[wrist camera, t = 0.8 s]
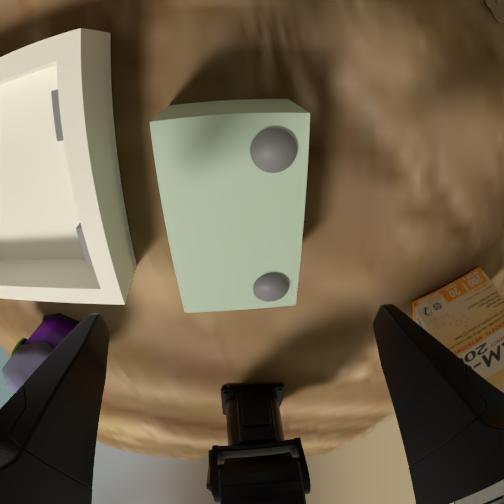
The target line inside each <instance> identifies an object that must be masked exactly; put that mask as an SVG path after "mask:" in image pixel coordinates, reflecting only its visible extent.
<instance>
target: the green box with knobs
mask: <svg viewBox="0 0 504 504" xmlns="http://www.w3.org/2000/svg"><path fill="white" fill-rule="evenodd" d="M150 130H151V137H152V145H153V152H154V159H155V166H156V172H157V179H158V185H159V191H160V197H161V203H162V208H163V214H164V219H165V225H166V230H167V235H168V240H169V245H170V250H171V254H172V259H173V264H174V268H175V273H176V277H177V282H178V286H179V290H180V295H181V299H182V303H183V307H184V311H185V313H192V312H211V311H228V310H243V309H256V308H269V307H281V306H292V305H296V298H297V289H298V279H299V269H300V259H301V249H302V237H303V226H304V213H305V200H306V186H307V170H308V153H309V133H310V113H309V112H308V111H306V110H305V109H303V108H302V107H300V106H298V105H297V104H295V103H294V102H292V101H290V100H289V99H243V100H223V101H209V102H197V103H187V104H178V105H169V106H168V107H166V108H165V109H164V110H163V111H162V112H160V113H159V114H158V115H157V116H156V117H155V118H154V119H152V120H151V121H150Z"/></svg>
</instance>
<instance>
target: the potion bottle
mask: <svg viewBox="0 0 504 504" xmlns="http://www.w3.org/2000/svg"><path fill="white" fill-rule="evenodd" d="M78 324H79V322H77V321H75V320H73V319H71V318H69V317H67V316H64V315H62V314H54V315H47V316H44V318H43V322H42V323H41V324H40V325H39V327H38V328H37V329H36V330H35V332H34V333H33V334H32V335H31V337H30V338H29V339H28V340H27V339H25V338H22V339H21V340H20V341H19V342H18V343H17V345H16V346H15V348H14V350H13V352H12V355H11V358H10V359H9V361H8V362H7V363H6V365H5V366H4V367H3V369H2V372H3V376H4V381H5V385H6V386H7V387H8V388H9V389H10V390H11V391H13V392H14V393H16V391H17V390H18V389H19V388H20V387H21V386H22V385H24V382H25V381H26V380H27V379H28V378H29V377H30V375H31V374H32V373H33V372H34V371H35V370H36V369H37V368H38V366H39V365H40V364H41V363H42V362H43V361H44V360H45V359H46V358H47V357H48V356H49V354H50V353H51V352H52V351H53V350H54V349H55V348H56V347H57V346H58V345H59V344H60V343H61V342H62V341H63V340H64V338H65V337H66V336H67V335H68V334H69V333H70V332H71V331H72V330H73V329H74V328H75V327H76V326H77V325H78Z"/></svg>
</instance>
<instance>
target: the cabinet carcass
mask: <svg viewBox="0 0 504 504" xmlns="http://www.w3.org/2000/svg"><path fill="white" fill-rule="evenodd" d="M136 267H137V264H136V260H135V255H134V250H133V246H132V241H131V236H130V231H129V226H128V220H127V215H126V209H125V203H124V197H123V191H122V185H121V178H120V171H119V163H118V155H117V147H116V137H115V127H114V116H113V102H112V84H111V33H109V32H103V31H97V30H91V29H84V28H79V29H75V30H72V31H69V32H65V33H62V34H59V35H56V36H53V37H50V38H47V39H44V40H41V41H38V42H35V43H33V44H30V45H28V46H25V47H23V48H20V49H18V50H15V51H13V52H11V53H8V54H6V55H4V56H2V57H0V298H3V299H15V300H29V301H44V302H62V303H83V304H113V305H125V303H126V299H127V296H128V293H129V289H130V286H131V283H132V280H133V276H134V273H135V270H136Z"/></svg>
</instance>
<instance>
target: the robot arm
mask: <svg viewBox="0 0 504 504" xmlns="http://www.w3.org/2000/svg"><path fill="white" fill-rule="evenodd" d="M373 329H374V333H375V338H376V342H377V347H378V352H379V357H380V361H381V366H382V369H383V373H384V376H385V379H386V382H387V386H388V389H389V392H390V396H391V399H392V403H393V406H394V410H395V413H396V417H397V421H398V424H399V428H400V432H401V436H402V440H403V444H404V448H405V452H406V456H407V461H408V465H409V470H410V474H411V479H412V484H413V489H414V494H415V500H416V504H450V503H453V502H454V504H504V393H503V392H502V391H500V390H499V389H498V388H496V387H495V386H494V385H492V384H491V383H490V382H488V381H487V380H486V379H484V378H483V377H482V376H480V375H479V374H478V373H477V372H475V371H474V370H473V369H472V368H471V367H470V366H468V365H467V364H466V363H464V361H462V360H461V359H460V358H459V357H458V356H456V355H455V354H454V353H453V352H452V351H450V350H449V349H448V348H447V347H446V346H444V345H443V344H442V343H441V342H439V341H438V340H437V339H436V338H435V337H433V336H432V335H431V334H430V333H428V332H427V331H426V330H425V329H423V328H422V327H421V326H420V325H419V324H417V323H416V322H415V321H413V320H412V319H411V318H410V317H408V316H407V315H406V314H405V313H403V312H402V311H401V310H400V309H398V308H397V307H396V306H394V305H393V304H385V305H382V306H380V308H379V310H378V313H377V315H376V317H375V319H374V322H373ZM108 344H109V331H108V328H107V326H106V323H105V321H104V319H103V316H102V315H101V314H98V313H90V314H88V315H87V316H86V317H85V318H84V319H83V320H82V321H81V322H80V323H79V324H78V325H77V326H76V327H75V328H74V329H73V330H72V331H71V332H70V333H69V334H68V335H67V336H66V337H65V338H64V340H63V341H62V342H61V343H60V344H59V345H58V346H57V347H56V348H55V349H54V350H53V351H52V352H51V353H50V354H49V356H48V357H47V358H46V359H45V360H44V361H43V362H42V363H41V364H40V365H39V366H38V368H37V369H36V370H35V371H34V372H33V373H32V374H31V375H30V377H29V378H28V379H27V380H26V381H25V382H24V385H22V386H21V387H20V388H19V389H18V390H17V391H16V393H15V394H14V395H13V396H12V397H11V398H10V399H9V400H8V402H7V403H6V404H5V405H4V406H3V407H2V408H1V409H0V504H91V503H92V502H91V501H92V480H93V467H94V456H95V447H96V438H97V430H98V422H99V415H100V409H101V402H102V396H103V390H104V385H105V378H106V367H107V355H108ZM283 393H284V385H283V384H274V385H259V386H240V387H223V388H221V398H222V408H223V414H224V415H226V418H227V435H228V446H218V445H214V446H212V450H209V469H208V476H207V489H208V490H209V491H211V492H212V495H213V497H214V500H215V502H221V504H306V500H305V494H309V493H310V478H309V472H308V467H307V464H306V460H305V456H304V452H303V448H302V444H301V440H300V437H299V438H294V439H291V440H284V435H283V428H282V422H281V415H280V409H279V407H280V403H281V400H282V396H283Z"/></svg>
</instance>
